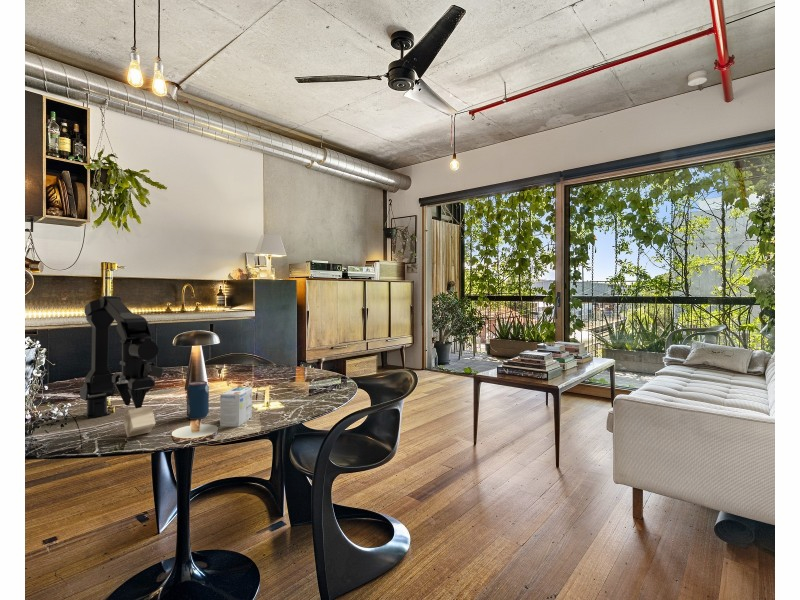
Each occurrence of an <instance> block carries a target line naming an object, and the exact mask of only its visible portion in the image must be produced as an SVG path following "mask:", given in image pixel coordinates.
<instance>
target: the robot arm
mask: <svg viewBox="0 0 800 600" xmlns="http://www.w3.org/2000/svg"><path fill="white" fill-rule="evenodd" d="M83 310H84V314H85V316H86V317H85V318H86V319H85V320H86V322H88V324H89V325H90V327H91V363H90V364H91V369H90V370H89V371H88V373H87V374H86V376H85V377H84V378H85V379H84V383H83V385H82V386H81V389H80V392H79V396H80V397H79V399H80V400H82V401H84V402H85V401H86V412H84V413H83V414H82V415H83V416H84V417H85V418H87V419H91V418H93V419H94V418H98V417H102V416H108V415H111V414H112V413H111V412H110V411H108V397H114V395H115V390H117V392H118V395H119V396H120V397H121V400H122V402H123V403H124V405H125V406H130V404H131V401H132V403H133V406H134V409H136V408H141V407H143V405H144V404H143V403H144V401H145V397H146V395H147V393H148V392H149V391H150V390H151V389H153V388H154V387H155V386H156V379H154V378H153V377H155V378H158V379H162V376H163V374H164V372H165V368H162V367H159V366H157V365H156V363H155V362H152V361H151V362H150V360H153V359H154V358H155V357H157V355H158V353H159V347H158V345H157V343H155V342H154V341H153V340H152V339H154V336H153V335H154V332H153V331H152V329H151V326H150V324H149V322H148V320H147V319H146V318H145V317H143V315H141V314H136V313H134V312H132V311H131V310H130V309H129V308H128V307H127V306H126V305H125V304H124V302H122V300H121V297H120V296H118V295H103V296H100V297H99V298H97V299H94V300H91V301H89V302H88V303H87V304H86V305H85V306H84V309H83ZM114 321H115V322H116V331H117V333H118V335H119V336H120V338H121V339H120V340H119V341H120V343H121V360H120V361H119V365H121V372H116V373H112V371H111V370H110V369H109V345H110V344H109V340H110V339H109V336H110V334H109V333H110V330H109V329H110V326H111V325H112V324H113V322H114ZM148 361H149V362H148Z"/></svg>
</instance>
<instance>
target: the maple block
mask: <svg viewBox="0 0 800 600" xmlns="http://www.w3.org/2000/svg"><path fill="white" fill-rule="evenodd" d="M122 420H123V425H124V430H125V433H126V434H125V435H126V437H127V438H130V437H135V436H139V435H144V434H147V433H151V431H152V429H154V427H155V425H156V419H155V415H154V411H153V408H152V405H147V406H142V407H141V408H131V409H128V410H127V412H126V414H125V415H124V417H123V418H122Z"/></svg>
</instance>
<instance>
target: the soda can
mask: <svg viewBox="0 0 800 600" xmlns="http://www.w3.org/2000/svg"><path fill="white" fill-rule="evenodd" d="M209 400H210V386H209V384H208V382H207V380H206V381H205V380H200V381H198V380H197V381H191V382H189V383H188V386H187V388H186V416H187V418H188V419H189V420H201V419H204V418H206V417H208V414H209V413H210V412H209V411H210V407H209V405H210V401H209Z"/></svg>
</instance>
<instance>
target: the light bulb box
mask: <svg viewBox="0 0 800 600" xmlns="http://www.w3.org/2000/svg"><path fill="white" fill-rule="evenodd" d="M219 397H220V398H219V399H220V400H219V401H220V402H219V403H220V405H219V406H220V407H219V408H220V409H219V413H220V415H219V416H220V417H219V427H229V428H231V427H233V428H235V427H236V428H239V427H240V426H242V425H243V424H244V423H246V422H247V421H249V418H250V419H252V414H253V412H252V411H253V410H252V408H253V407H252V405H253V404H252V403H253V401H252V400H253V399H252V398H253V387H251V386H238V387H237V386H233V387H231V388H229V390H226V391H224V392H223V393H220V395H219Z"/></svg>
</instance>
